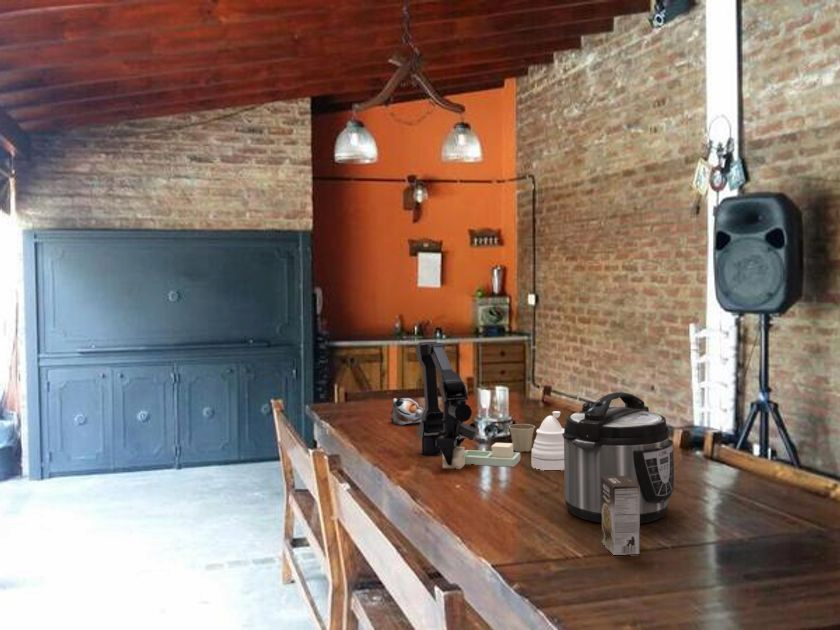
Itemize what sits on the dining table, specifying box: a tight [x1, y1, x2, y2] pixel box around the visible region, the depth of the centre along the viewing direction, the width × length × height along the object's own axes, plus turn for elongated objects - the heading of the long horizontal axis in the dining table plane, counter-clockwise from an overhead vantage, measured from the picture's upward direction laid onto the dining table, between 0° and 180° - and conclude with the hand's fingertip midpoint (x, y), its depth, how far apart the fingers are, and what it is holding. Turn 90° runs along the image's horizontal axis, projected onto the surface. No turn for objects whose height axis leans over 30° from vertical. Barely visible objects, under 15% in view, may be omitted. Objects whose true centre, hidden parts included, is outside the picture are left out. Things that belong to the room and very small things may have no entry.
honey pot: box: [530, 410, 564, 471], centre depth 272 cm, size 13×13×18 cm
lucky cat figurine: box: [390, 397, 424, 426], centre depth 353 cm, size 15×12×14 cm
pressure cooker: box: [562, 391, 675, 524], centre depth 219 cm, size 30×28×32 cm
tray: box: [465, 442, 521, 468], centre depth 280 cm, size 19×10×6 cm, turn 71°
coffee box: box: [601, 476, 641, 556], centre depth 191 cm, size 9×6×16 cm
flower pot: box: [508, 423, 536, 453], centre depth 297 cm, size 9×9×9 cm
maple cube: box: [441, 446, 466, 470], centre depth 275 cm, size 6×6×6 cm
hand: (452, 462), depth 276 cm, fingers open, 6 cm apart
